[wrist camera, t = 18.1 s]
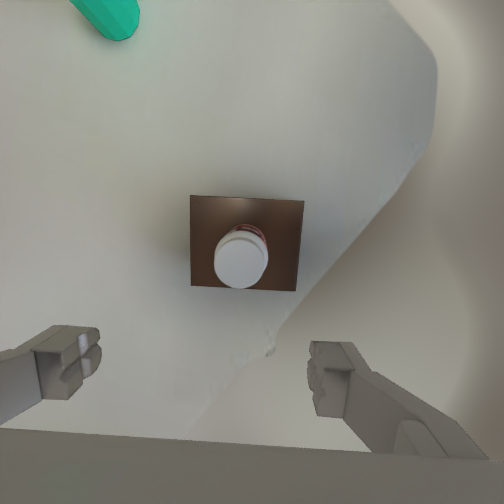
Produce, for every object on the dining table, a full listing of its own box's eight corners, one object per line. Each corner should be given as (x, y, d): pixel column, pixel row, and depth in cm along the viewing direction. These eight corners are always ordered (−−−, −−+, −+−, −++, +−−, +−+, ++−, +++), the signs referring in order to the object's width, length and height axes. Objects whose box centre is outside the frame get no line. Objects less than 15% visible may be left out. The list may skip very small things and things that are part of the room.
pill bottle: (275, 244, 27) (282, 264, 18) (245, 273, 27) (240, 304, 19) (244, 214, 26) (237, 221, 18) (215, 245, 27) (196, 265, 19)
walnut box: (294, 200, 32) (304, 200, 25) (288, 273, 35) (295, 291, 28) (204, 195, 33) (189, 195, 26) (203, 268, 35) (190, 285, 28)
